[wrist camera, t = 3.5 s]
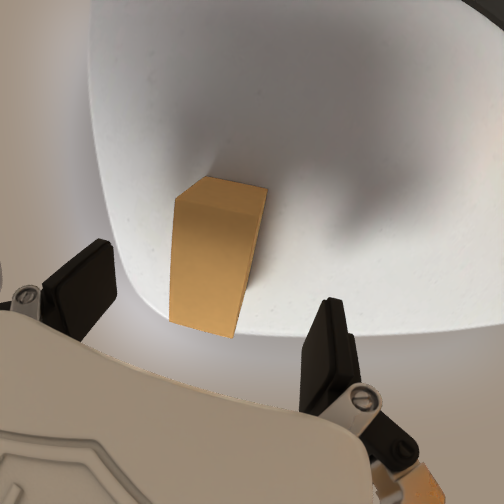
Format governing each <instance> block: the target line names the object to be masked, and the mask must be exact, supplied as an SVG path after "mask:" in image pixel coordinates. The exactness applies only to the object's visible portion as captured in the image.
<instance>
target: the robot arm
mask: <svg viewBox="0 0 504 504" xmlns="http://www.w3.org/2000/svg"><path fill="white" fill-rule="evenodd" d="M42 286H43V289H42V290H41V291H40V289H39V288H38V287H37V286H34V285H26V286H23V287H21V288H19V289H18V290H16V292H15V293H14V294H13V297H12V301H8V302H3V303H0V504H373V484H374V485H375V487H376V489H377V490H378V491H376V494H377V495H378V497H379V500H380V504H445V495H444V493H443V491H442V490H441V488H440V486H439V485H438V483H437V482H436V480H435V479H434V477H433V476H432V474H431V473H430V471H429V470H428V468H427V467H426V465H425V463H424V462H422V463H420V462H419V460H418V457H419V447H418V445H417V443H416V441H415V440H414V439H413V438H412V437H410V436H409V435H408V434H407V433H406V432H405V431H404V430H402V429H401V428H400V427H399V426H398V425H397V424H396V423H394V422H393V421H392V420H391V419H390V418H389V417H388V416H386V415H385V414H384V413H383V412H382V411H381V407H382V402H383V401H382V397H381V395H380V393H379V392H378V391H377V390H376V389H375V388H374V387H373V386H371V385H369V384H365V383H362V382H361V376H360V368H359V362H358V356H357V351H356V344H355V338H354V335H353V334H351V333H348V330H347V324H346V318H345V312H344V307H343V302H342V300H340V299H335V298H331V297H329V298H328V299H327V300H323V301H322V303H321V305H320V307H319V310H318V312H317V314H316V317H315V319H314V321H313V324H312V326H311V328H310V331H309V333H308V335H307V337H306V339H305V342H304V344H303V347H302V357H301V382H300V402H299V412H297V411H292V410H287V409H283V408H278V407H273V406H269V405H264V404H260V403H255V402H251V401H247V400H243V399H238V398H234V397H230V396H226V395H223V394H219V393H215V392H211V391H208V390H204V389H201V388H198V387H194V386H191V385H187V384H185V383H181V382H178V381H175V380H172V379H169V378H166V377H163V376H160V375H158V374H155V373H152V372H149V371H147V370H144V369H141V368H139V367H136V366H134V365H131V364H129V363H126V362H123V361H121V360H119V359H116V358H114V357H112V356H109V355H107V354H105V353H102V352H100V351H98V350H96V349H94V348H91V347H89V346H87V345H85V344H83V343H81V341H82V340H83V338H84V337H85V336H86V335H87V333H88V332H89V331H90V330H91V328H92V327H93V326H94V325H95V323H96V322H97V321H98V320H99V319H100V317H101V316H102V315H103V314H104V313H105V311H106V310H107V309H108V308H109V307H110V305H111V304H112V303H113V302H114V301H115V299H116V297H117V287H116V277H115V266H114V251H113V246H112V245H111V243H110V242H109V241H107V240H103V239H99V238H98V239H97V240H95V241H94V242H93V243H91V244H90V245H89V246H88V247H86V248H85V249H83V250H82V251H81V252H80V253H78V254H77V255H76V256H75V257H73V258H72V259H71V260H70V261H68V262H67V263H66V264H65V265H63V266H62V267H61V268H60V269H59V270H57V271H56V272H55V273H54V274H53V275H51V276H50V277H49V278H48V279H47V280H46V281H44V282H43V283H42Z"/></svg>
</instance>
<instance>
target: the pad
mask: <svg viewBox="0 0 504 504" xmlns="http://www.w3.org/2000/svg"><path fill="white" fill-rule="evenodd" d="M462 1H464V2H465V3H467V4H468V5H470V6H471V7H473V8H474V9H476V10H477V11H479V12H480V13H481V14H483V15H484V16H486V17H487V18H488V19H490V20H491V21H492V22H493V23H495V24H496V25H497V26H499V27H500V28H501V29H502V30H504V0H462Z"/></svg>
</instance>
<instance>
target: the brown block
mask: <svg viewBox="0 0 504 504" xmlns="http://www.w3.org/2000/svg"><path fill="white" fill-rule="evenodd" d="M267 191H268V189H265V188H261V187H256V186H252V185H247V184H242V183H238V182H233V181H228V180H223V179H218V178H213V177H207V176H205V177H203V178H202V179H201V180H199V181H198V182H197V183H195V184H194V185H192V186H191V187H190V188H188V189H187V190H186V191H184V192H183V193H182V194H180V195H179V196H178V197H177V198H176V199H175V207H174V219H173V232H172V248H171V267H170V298H169V321H170V322H172V323H176V324H179V325H183V326H186V327H190V328H193V329H197V330H201V331H204V332H208V333H212V334H216V335H220V336H224V337H228V338H233V336H234V332H235V329H236V325H237V321H238V317H239V314H240V310H241V306H242V302H243V298H244V295H245V291H246V286H247V282H248V277H249V273H250V268H251V264H252V259H253V255H254V250H255V246H256V241H257V237H258V232H259V227H260V223H261V218H262V214H263V209H264V205H265V200H266V196H267Z"/></svg>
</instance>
